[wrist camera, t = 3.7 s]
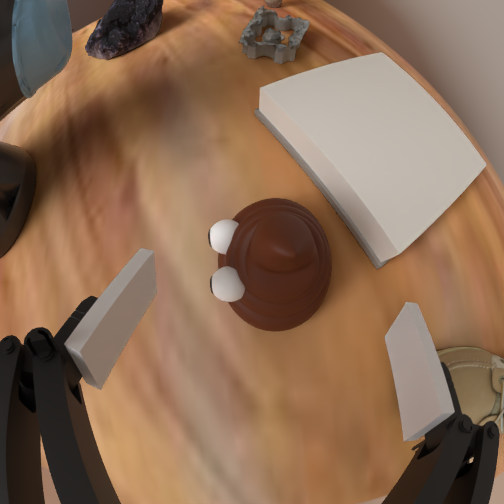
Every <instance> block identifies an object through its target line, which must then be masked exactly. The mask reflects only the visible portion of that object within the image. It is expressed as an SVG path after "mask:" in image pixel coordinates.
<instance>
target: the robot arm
mask: <svg viewBox="0 0 504 504" xmlns="http://www.w3.org/2000/svg"><path fill="white" fill-rule="evenodd" d="M71 52H72V31H71V23H70V17H69V11H68V6H67V1H66V0H0V121H1V120H2V119H3V118H5V117H6V116H7V115H8V114H9V113H10V112H11V111H13V110H14V109H15V108H16V107H17V106H18V105H20V104H21V103H22V102H23V101H25V100H26V99H27V98H31V97H32V96H33V95H34V94H35V93H36V91H37V90H38V89H39V88H40V87H41V86H43V85H44V84H45V83H47V82H48V81H49V80H51V79H52V78H53V77H55V76H56V75H57V74H59V73H60V72H61V71H62V70H63V69H64V67H65V66H66V65H67V63H68V61H69V59H70V56H71ZM35 183H36V167H35V163H34V160H33V158H32V157H31V156H30V155H29V154H28V153H27V152H25V151H24V150H23V149H22V148H20V147H18V146H15V145H11V144H8V143H4V142H1V141H0V257H1V256H2V255H4V254H5V253H6V252H7V250H8V249H9V248H10V247H11V245H12V244H13V242H14V241H15V239H16V237H17V236H18V234H19V232H20V230H21V228H22V226H23V224H24V221H25V219H26V217H27V214H28V211H29V208H30V205H31V202H32V198H33V194H34V189H35ZM156 294H157V284H156V272H155V258H154V251H153V250H148V249H144V248H140V249H139V251H138V252H137V253H136V254H135V255H134V256H133V257H132V258H131V260H130V261H129V262H128V263H127V264H126V265H125V267H124V268H123V269H122V270H121V271H120V272H119V274H118V275H117V276H116V277H115V278H114V280H113V281H112V282H111V283H110V284H109V286H108V287H107V288H106V289H105V291H104V292H103V293H102V294H101V296H100V297H99V298H96V297H94V296H90V297H88V298H87V299H85V300H84V301H82V302H81V303H80V305H79V306H78V307H77V308H76V311H74V312H73V313H72V315H71V317H69V318H68V320H67V321H66V322H65V323H64V325H63V326H62V327H61V329H60V330H59V331H58V333H57V334H56V335H55V337H54V338H53V336H52V334H51V332H50V331H49V330H48V329H46V328H43V327H39V328H35V329H32V330H31V331H30V332H29V333H28V334H27V335H26V337H25V340H24V344H25V345H22V344H21V342H20V340H19V339H18V338H17V337H16V336H13V335H11V336H7V337H5V338H3V339H2V340H1V341H0V504H45V501H44V493H43V485H42V474H41V473H42V472H41V449H40V435H41V437H42V442H43V446H44V451H45V455H46V459H47V462H48V466H49V470H50V473H51V476H52V479H53V483H54V485H55V489H56V492H57V494H58V497H59V500H60V502H61V504H121V503H120V501H119V499H118V496H117V494H116V492H115V490H114V488H113V485H112V483H111V481H110V479H109V476H108V474H107V471H106V469H105V466H104V464H103V461H102V458H101V455H100V453H99V450H98V447H97V444H96V441H95V438H94V435H93V431H92V428H91V425H90V421H89V418H88V414H87V410H86V406H85V402H84V398H83V394H82V389H81V385H80V383H79V381H80V379H81V378H82V377H83V378H84V380H85V381H86V383H88V384H90V385H92V386H94V387H96V388H98V389H100V390H101V389H102V387H103V385H104V383H105V381H106V379H107V377H108V376H109V374H110V372H111V370H112V368H113V367H114V365H115V363H116V361H117V359H118V358H119V356H120V354H121V352H122V351H123V349H124V347H125V345H126V344H127V342H128V340H129V338H130V337H131V335H132V333H133V332H134V330H135V328H136V326H137V325H138V323H139V321H140V320H141V318H142V316H143V315H144V313H145V312H146V310H147V308H148V307H149V305H150V303H151V302H152V300H153V299H154V297H155V295H156ZM385 341H386V346H387V350H388V354H389V358H390V363H391V368H392V372H393V377H394V382H395V387H396V393H397V398H398V404H399V410H400V417H401V424H402V431H403V439H404V441H412V440H417V439H419V438H420V437H422V436H423V435H425V440H424V441H422V442H420V443H419V444H417V445H416V446H414V447H413V448H412V449H411V450H415V449H416V448H418V447H419V448H418V450H417V451H415V452H416V453H415V455H414V457H413V458H412V460H411V462H410V463H409V465H408V466H407V468H406V470H405V471H404V473H403V474H402V476H401V477H400V479H399V480H398V482H397V483H396V485H395V486H394V488H393V489H392V490H391V492H390V493H389V494H388V496H387V497H386V498H385V500H384V501H383V503H382V504H488V503H489V500H490V496H491V492H492V487H493V482H494V476H495V471H496V464H497V456H498V447H499V435H500V434H499V428H498V426H497V424H496V423H495V422H494V421H488V422H486V423H485V424H484V425H482V426H480V425H476V424H473V422H472V420H471V418H470V417H469V416H468V415H466V414H462V411H461V408H460V404H459V400H458V397H457V393H456V390H455V388H454V384H453V381H452V377H451V374H450V371H449V369H448V368H447V366H446V365H445V363H444V362H440V360H439V357H438V354H437V351H436V349H435V346H434V343H433V341H432V338H431V335H430V333H429V330H428V328H427V325H426V323H425V320H424V318H423V315H422V313H421V311H420V308H419V306H418V304H417V303H411V302H406V303H405V305H404V307H403V308H402V310H401V312H400V313H399V315H398V316H397V318H396V320H395V321H394V323H393V324H392V326H391V328H390V329H389V331H388V332H387V334H386V335H385ZM472 457H474V459H473V462H472V463H470V464H469V460H470V458H472Z"/></svg>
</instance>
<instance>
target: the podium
mask: <svg viewBox="0 0 504 504" xmlns="http://www.w3.org/2000/svg"><path fill="white" fill-rule="evenodd" d="M255 116H256V117H257V118H258V119H259V120H260V121H261V122H262V123H263V124H264V125H265V126H266V127H267V129H268V130H269V131H270V132H271V133H272V134H273V135H274V136H275V137H276V139H277V140H278V141H279V142H280V143H281V144H282V145H283V146H284V148H285V149H286V150H287V151H288V152H289V153H290V155H291V156H292V157H293V158H294V159H295V160H296V162H297V163H298V164H299V165H300V166H301V168H302V169H303V170H304V171H305V172H306V174H307V175H308V176H309V177H310V179H311V180H312V181H313V182H314V184H315V185H316V186H317V187H318V189H319V190H320V191H321V192H322V194H323V195H324V196H325V198H326V199H327V200H328V201H329V203H330V204H331V205H332V207H333V208H334V209H335V211H336V212H337V213H338V215H339V216H340V217H341V219H342V220H343V221H344V223H345V224H346V226H347V227H348V228H349V230H350V231H351V233H352V234H353V235H354V237H355V238H356V240H357V241H358V242H359V244H360V245H361V247H362V248H363V250H364V251H365V253H366V254H367V256H368V257H369V259H370V260H371V262H372V263H373V265H374V266H375V268H376V269H378V268H381V267H382V266H383V265H384V264H385V263H386V262H388V261H389V260H390V259H391V258H392V257H395V256H397V255H399V254H400V253H401V252H403V251H404V250H405V249H406V248H407V247H408V246H409V245H410V244H411V243H412V242H414V241H415V240H416V239H417V238H418V237H419V236H420V235H421V234H422V233H423V232H424V231H425V230H426V229H427V228H428V227H429V226H430V225H431V224H432V223H433V222H434V221H435V220H436V219H437V218H438V217H439V216H440V215H441V214H442V213H443V212H444V211H445V210H446V209H447V208H448V207H449V206H450V205H451V204H452V203H453V202H454V201H455V200H456V199H457V198H458V197H459V196H460V195H461V194H462V193H463V191H464V190H465V189H466V188H467V187H468V186H469V185H470V184H471V183H472V181H473V180H474V179H475V178H476V177H477V176H478V175H479V173H480V172H481V171H482V170H483V169H484V168H485V166H486V165H487V164H486V163H485V161H484V160H483V158H482V157H481V156H480V154H479V153H478V151H477V150H476V149H475V147H474V146H473V145H472V143H471V142H470V141H469V139H468V138H467V137H466V135H465V134H464V133H463V132H462V130H461V129H460V128H459V127H458V126H457V124H456V123H455V122H454V121H453V120H452V118H451V117H450V116H449V115H448V114H447V113H446V112H445V110H444V109H443V108H442V107H441V106H440V105H439V104H438V103H437V102H436V101H435V100H434V99H433V98H432V97H431V96H430V95H429V94H428V93H427V92H426V91H425V90H424V89H423V88H422V87H421V86H420V85H419V84H418V83H417V82H416V81H415V80H414V79H413V78H412V77H411V76H410V75H409V74H407V73H406V72H405V71H404V70H403V69H402V68H401V67H399V66H398V65H397V64H396V63H395V62H394V61H392V60H391V59H390V58H389V57H387V56H386V55H385V54H384V53H382V52H380V53H375V54H370V55H365V56H360V57H356V58H352V59H348V60H344V61H340V62H336V63H332V64H329V65H325V66H322V67H318V68H315V69H312V70H308V71H305V72H302V73H299V74H296V75H293V76H290V77H287V78H285V79H282V80H279V81H276V82H274V83H271V84H268V85H266V86H263V87H261V88H260V99H259V108H258V109H255Z"/></svg>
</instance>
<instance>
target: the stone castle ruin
mask: <svg viewBox="0 0 504 504" xmlns="http://www.w3.org/2000/svg"><path fill="white" fill-rule="evenodd" d="M277 16H278V15H277V13H276V12H275V11H273V10H267V9H264V6H261V7H260V8H259V9H258V10H257V11H256V13H255V14H254V17H253V19H252V20H251V21H250V22H249V24H248V25H247V27H246V28H245V29H244V30H243V33H242V36H241V39H240V41H239V43H242V45H243V50H242V52H243V53H246V54H247V55H248V58H251V59H256V58H257V57H259V56H269V57H271V58H272V59H273V60H274V62H275V63H280V64H283V63H284V62H286V61H294V59H295V55H296V49H299V46H300V41H301V40H302V38H303V36H304V34H305V32H306V30H307V29H308V26H309V23H310V22H309V21H308V20H302V19H301V18H299V17H298V18H292V17H290V15H287V16H286V18H280V17H277ZM268 25H269V26H274V28H275V29H277V30H280V31H288V30H290V29H292V30H294V34H292V36H290V37H289V45H288V46H286V45H283V44H281V40H284V39H285V36H284V35H283V34H281V32H280V31H275V30H273V29H272V28H268V29H267V30H266V31H265V33H264V35H263V43H262V42H256V41H255V37H258V36H260V35H261V34H262V27H266V26H268Z"/></svg>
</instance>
